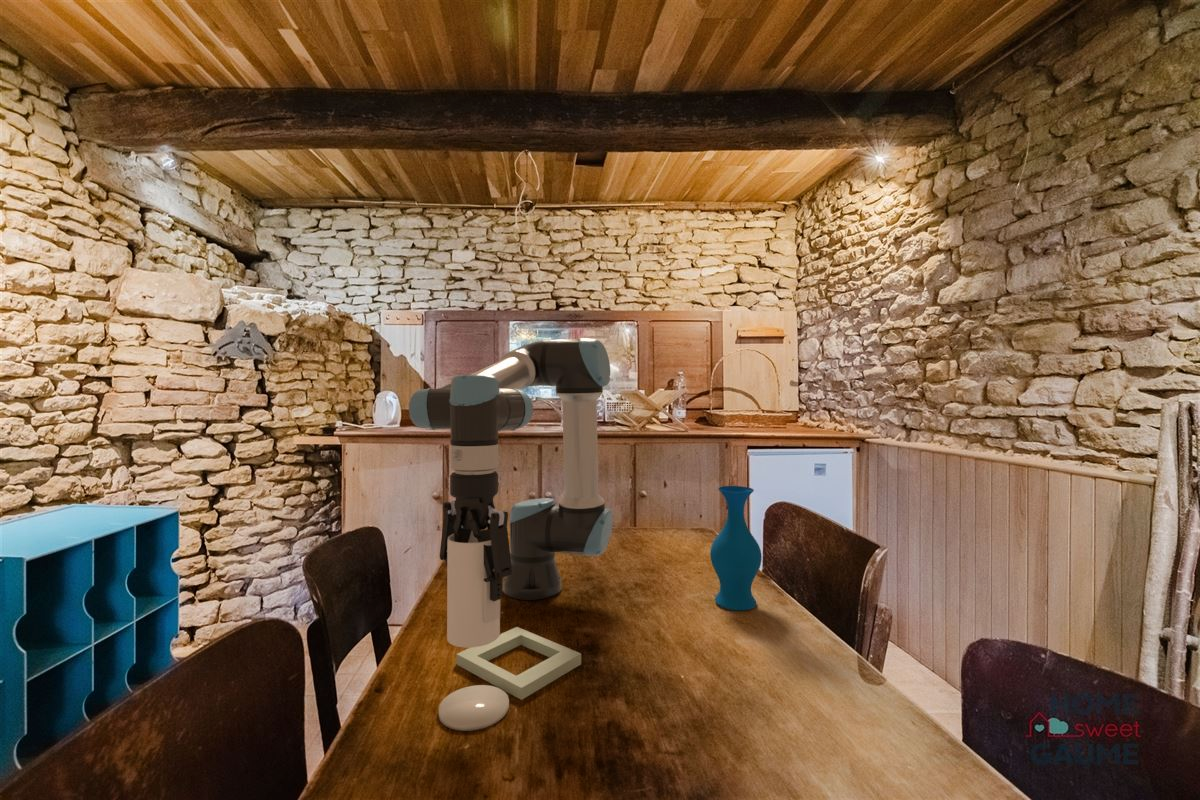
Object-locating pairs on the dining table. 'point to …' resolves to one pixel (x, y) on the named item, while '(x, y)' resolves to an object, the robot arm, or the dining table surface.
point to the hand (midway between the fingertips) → (474, 612)
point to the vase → (735, 554)
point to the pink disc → (473, 707)
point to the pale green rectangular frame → (529, 679)
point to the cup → (467, 595)
